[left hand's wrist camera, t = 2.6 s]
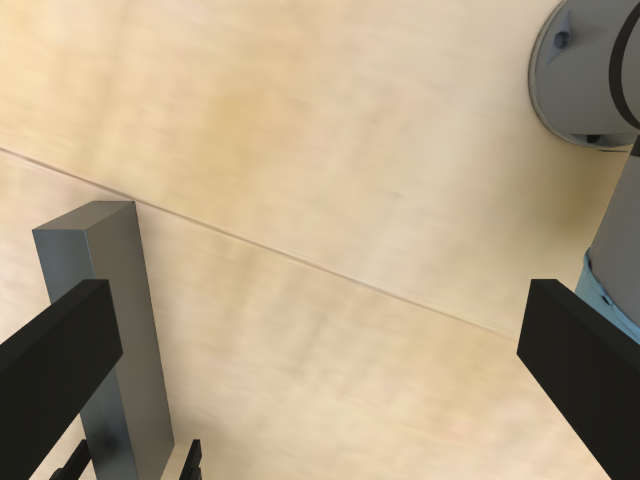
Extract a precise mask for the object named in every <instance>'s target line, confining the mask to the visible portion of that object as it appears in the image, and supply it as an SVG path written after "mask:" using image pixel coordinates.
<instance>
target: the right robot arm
mask: <svg viewBox="0 0 640 480" xmlns="http://www.w3.org/2000/svg"><path fill="white" fill-rule="evenodd" d="M201 457H202V452H201V445H200V439H194V440H193V442H192V445H191V448H190V451H189V453H188V456H187V459H186V462H185V465H184V467H183V470H182V473H181V476H180V478H179V480H202V475H201V468H198V467H199V464H200V461H201ZM90 460H91V455H90V451H89V447H88V443H87V440H86V439H82V441H81V442H80V444H79V445H78V446H77V448H76V449H75V451H74V452H73V454H72V455H71V457H70V458H69V460H68V461H67V463H66V464H65V466H64V467H63V468H58V469H57V470H56V471H55V472H54V473H53V475H52V476H51V477H50V479H49V480H78V479H79V477H80V476H81V474H82V473H83V471H84V469H85V468H86V466H87V464H88V463H89V461H90Z"/></svg>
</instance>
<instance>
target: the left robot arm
mask: <svg viewBox="0 0 640 480" xmlns="http://www.w3.org/2000/svg"><path fill="white" fill-rule="evenodd" d="M529 91H530V96H531V101H532V104H533V107H534V109H535V111H536V114H537V115H538V117H539V119H540V120H541V122H542V123H543V124H544V125H545V127H546V128H547V129H548V130H549V131H551V132H552V133H553V134H554V135H556V136H557V137H559V138H560V139H562V140H565V141H567V142H569V143H572V144H576V145H581V146H586V147H593V148H612V147H621V146H626V145H630V144H633V143H635V144H634V146H633V148H632V151H631V153H630V154H631V155H629V157H628V159H627V161H626V164H625V166H624V169H623V171H622V174H621V176H620V179H619V181H618V183H617V186H616V188H615V191H614V193H613V196H612V198H611V200H610V203H609V205H608V208H607V210H606V213H605V215H604V217H603V220H602V222H601V224H600V227H599V229H598V231H597V233H596V236H595V238H594V240H593V243H592V245H591V247H589V248H588V250H587V251H586V253H585V255H584V260H583V261H584V266H583V269H582V273H581V276H580V278H579V281H578V284H577V287H576V290H575V294H574V293H573V292H572V291H571V290H569V289H568V288H567V287H566V286H564V285H563V284H562V283H560V282H559V281H558V280H557V279H531V284H530V289H529V294H528V299H527V304H526V309H525V314H524V319H523V324H522V329H521V334H520V339H519V344H518V349H517V355H518V357H519V358H520V359H521V361H522V362H523V363H524V365H525V366H526V367H527V368H528V370H529V371H530V372H531V374H532V375H533V376H534V378H535V379H536V380H537V382H538V383H539V384H540V386H541V387H542V388H543V390H544V391H545V392H546V394H547V395H548V396H549V398H550V399H551V400H552V402H553V403H554V404H555V406H556V407H557V408H558V410H559V411H560V412H561V413H562V415H563V416H564V417H565V419H566V420H567V421H568V423H569V424H570V425H571V427H572V428H573V429H574V431H575V432H576V433H577V435H578V436H579V437H580V439H581V440H582V441H583V443H584V444H585V445H586V447H587V448H588V449H589V451H590V452H591V453H592V455H593V456H594V457H595V458H596V460H597V461H598V462H599V464H600V465H601V466H602V468H603V469H604V470H605V472H606V473H607V474H608V476H609V477H610V478H611V480H640V0H563V1H562V2H561V3H560V4H559V5H558V6H557V8H556V9H555V10H554V11H553V13H552V14H551V15H550V17H549V18H548V20H547V21H546V23H545V24H544V26H543V28H542V30H541V32H540V34H539V36H538V38H537V40H536V43H535V46H534V49H533V52H532V56H531V61H530V66H529ZM598 151H603V152H627V151H610V150H598ZM122 355H123V349H122V344H121V339H120V334H119V329H118V324H117V319H116V314H115V309H114V304H113V299H112V294H111V289H110V284H109V279H83V280H82V281H81V282H80V283H78V284H77V285H76V286H74V287H73V288H72V289H71V290H69V291H68V292H67V293H66V294H64V295H63V296H62V297H60V298H59V299H58V300H57V301H55V302H54V303H53V304H52V305H50V306H49V307H48V308H46V309H45V310H44V311H43V312H41V313H40V314H39V315H38V316H36V317H35V318H34V319H32V320H31V321H30V322H29V323H27V324H26V325H25V326H24V327H22V328H21V329H20V330H18V331H17V332H16V333H15V334H13V335H12V336H11V337H9V338H8V339H7V340H6V341H4V342H3V343H2V344H1V345H0V480H29V478H30V477H31V476H32V474H33V473H34V472H35V470H36V469H37V468H38V466H39V465H40V464H41V462H42V461H43V460H44V458H45V457H46V456H47V455H48V453H49V452H50V451H51V449H52V448H53V447H54V445H55V444H56V443H57V441H58V440H59V439H60V437H61V436H62V435H63V433H64V432H65V431H66V429H67V428H68V427H69V425H70V424H71V423H72V421H73V420H74V419H75V417H76V416H77V415H78V413H79V412H80V411H81V410H82V408H83V407H84V406H85V404H86V403H87V402H88V400H89V399H90V398H91V396H92V395H93V394H94V392H95V391H96V390H97V388H98V387H99V386H100V384H101V383H102V382H103V380H104V379H105V378H106V376H107V375H108V374H109V372H110V371H111V370H112V368H113V367H114V366H115V365H116V363H117V362H118V361H119V359H120V358H121V357H122Z"/></svg>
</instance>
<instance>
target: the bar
mask: <svg viewBox="0 0 640 480" xmlns="http://www.w3.org/2000/svg"><path fill="white" fill-rule="evenodd" d="M32 233H33V237H34V240H35V244H36V248H37V252H38V256H39V260H40V263H41V267H42V271H43V275H44V279H45V283H46V286H47V290H48V294H49V298H50V302H51V305H52V304H53V303H54V302H55V301H57V300H58V299H59V298H60V297H62V296H63V295H64V294H66V293H67V292H68V291H69V290H71V289H72V288H73V287H74V286H76V285H77V284H78V283H80V282H81V281H82V280H83V279H109V284H110V289H111V294H112V299H113V304H114V309H115V314H116V319H117V324H118V329H119V334H120V339H121V344H122V349H123V355H122V357H121V358H120V359H119V361H118V362H117V363H116V365H115V366H114V367H113V368H112V370H111V371H110V372H109V374H108V375H107V376H106V378H105V379H104V380H103V382H102V383H101V384H100V386H99V387H98V388H97V390H96V391H95V392H94V394H93V395H92V396H91V398H90V399H89V400H88V402H87V403H86V404H85V406H84V407H83V408H82V410H81V411H80V412H79V413H80V417H81V420H82V424H83V428H84V432H85V436H86V440H87V443H88V447H89V451H90V455H91V459H92V463H93V466H94V470H95V474H96V478H97V480H160V478H161V476H162V474H163V471H164V469H165V466H166V464H167V462H168V459H169V457H170V454H171V452H172V450H173V447H174V439H173V433H172V427H171V421H170V415H169V409H168V403H167V397H166V391H165V384H164V378H163V372H162V366H161V360H160V354H159V348H158V342H157V336H156V329H155V323H154V317H153V311H152V305H151V299H150V293H149V287H148V281H147V274H146V268H145V262H144V256H143V250H142V244H141V238H140V232H139V226H138V220H137V213H136V207H135V202H134V201H92V202H90V203H88V204H85V205H83V206H81V207H79V208H77V209H75V210H73V211H71V212H69V213H66V214H64V215H62V216H60V217H58V218H56V219H54V220H52V221H49V222H47V223H45V224H43V225H41V226H39V227H37V228H35V229H33V230H32Z"/></svg>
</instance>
